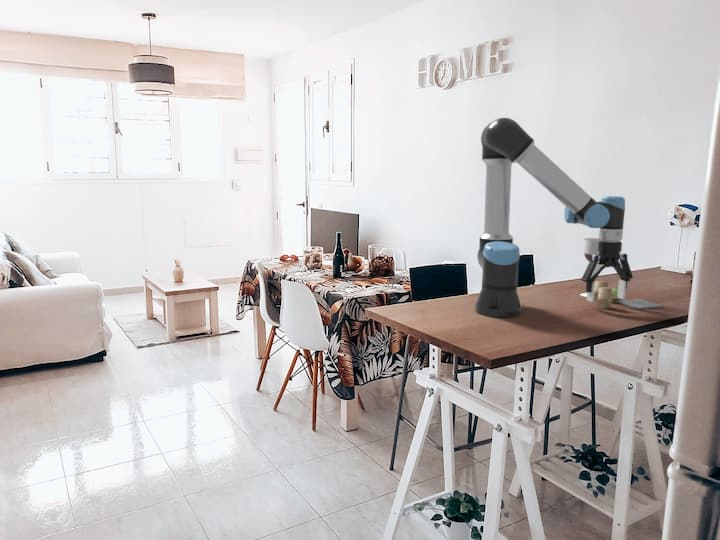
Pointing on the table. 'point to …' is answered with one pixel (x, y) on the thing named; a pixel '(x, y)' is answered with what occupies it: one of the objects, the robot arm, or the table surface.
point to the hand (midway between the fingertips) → (605, 299)
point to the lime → (614, 293)
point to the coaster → (638, 304)
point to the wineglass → (590, 251)
